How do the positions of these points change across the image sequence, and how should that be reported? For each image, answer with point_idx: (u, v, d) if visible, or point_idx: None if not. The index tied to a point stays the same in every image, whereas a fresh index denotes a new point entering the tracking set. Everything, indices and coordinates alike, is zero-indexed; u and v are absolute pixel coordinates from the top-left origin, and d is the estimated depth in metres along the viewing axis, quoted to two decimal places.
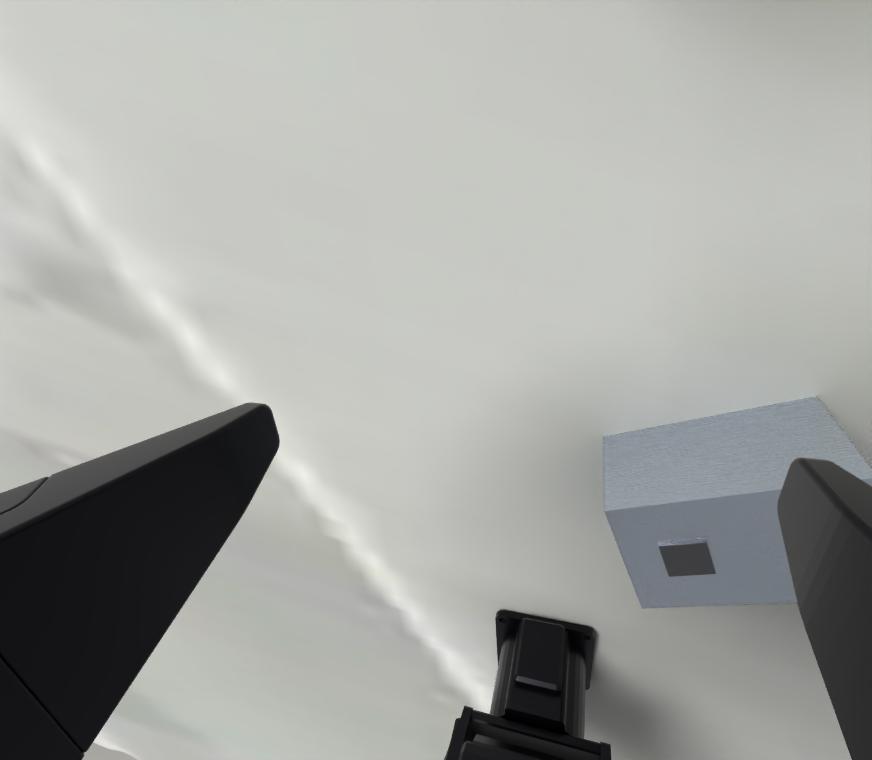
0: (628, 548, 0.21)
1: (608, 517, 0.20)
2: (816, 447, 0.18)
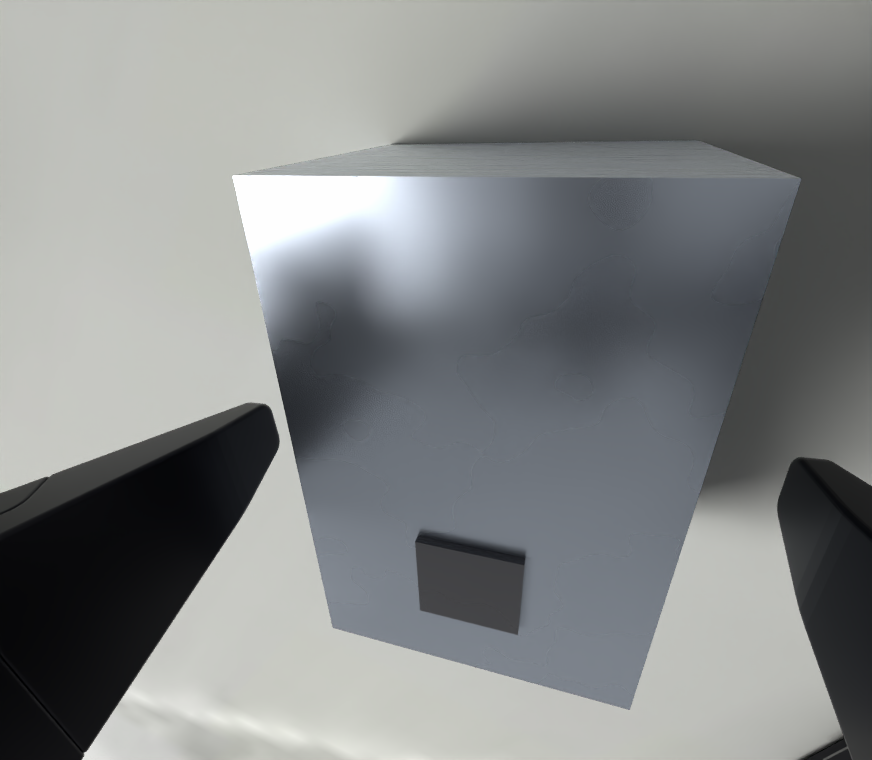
0: (430, 644, 0.10)
1: (347, 630, 0.10)
2: None
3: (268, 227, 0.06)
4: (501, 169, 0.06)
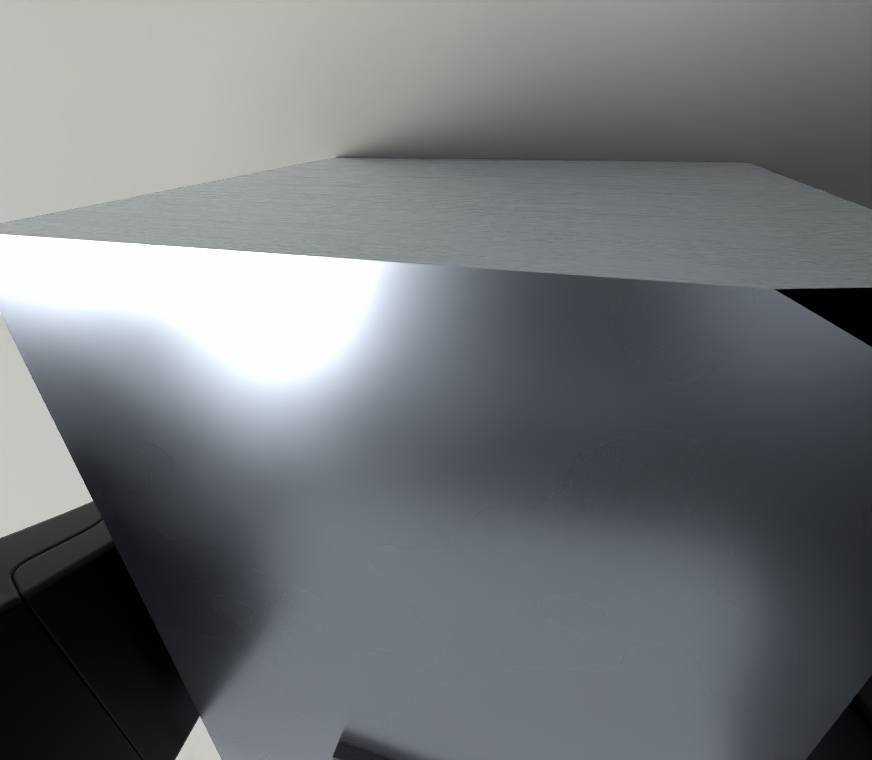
0: None
1: None
2: None
3: (38, 319, 0.03)
4: (443, 232, 0.03)
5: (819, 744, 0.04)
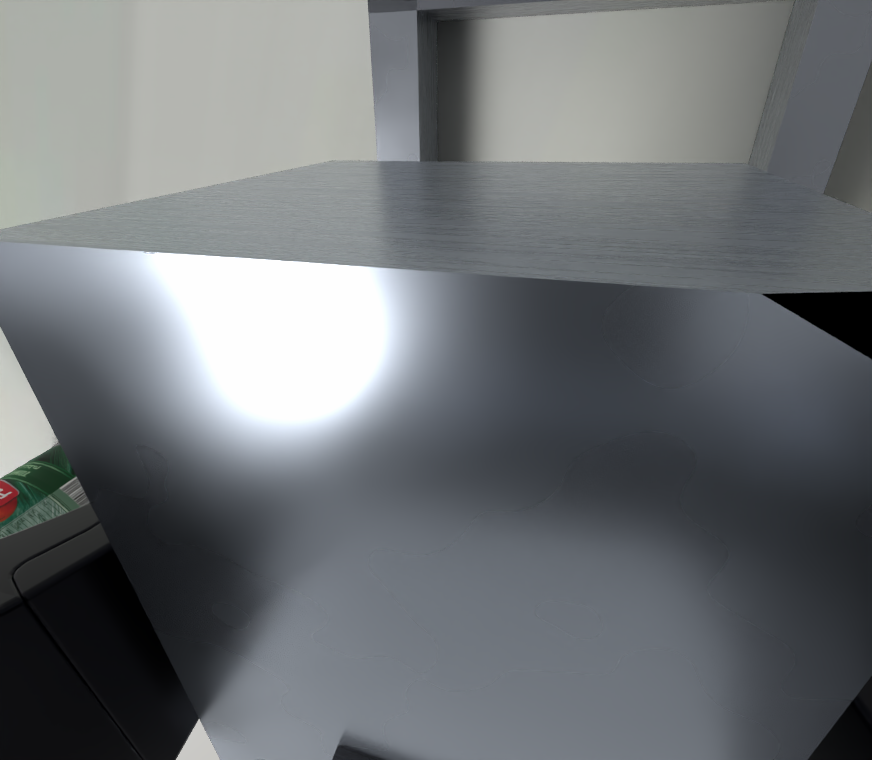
0: None
1: None
2: None
3: (35, 326, 0.03)
4: (437, 237, 0.03)
5: None
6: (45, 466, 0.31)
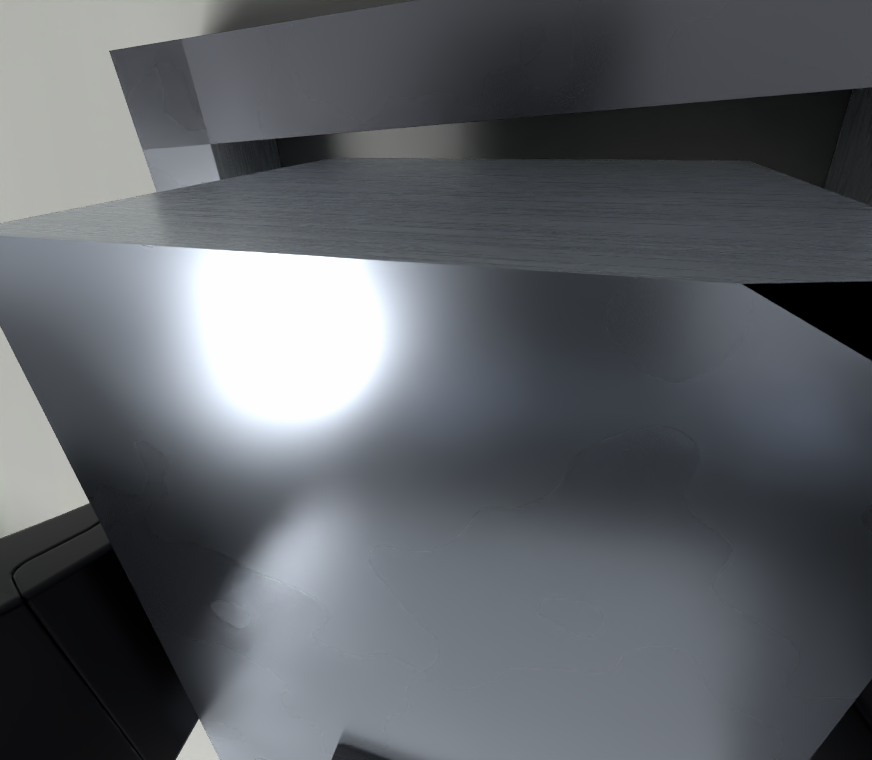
0: None
1: None
2: None
3: (32, 321, 0.03)
4: (438, 231, 0.03)
5: None
6: None
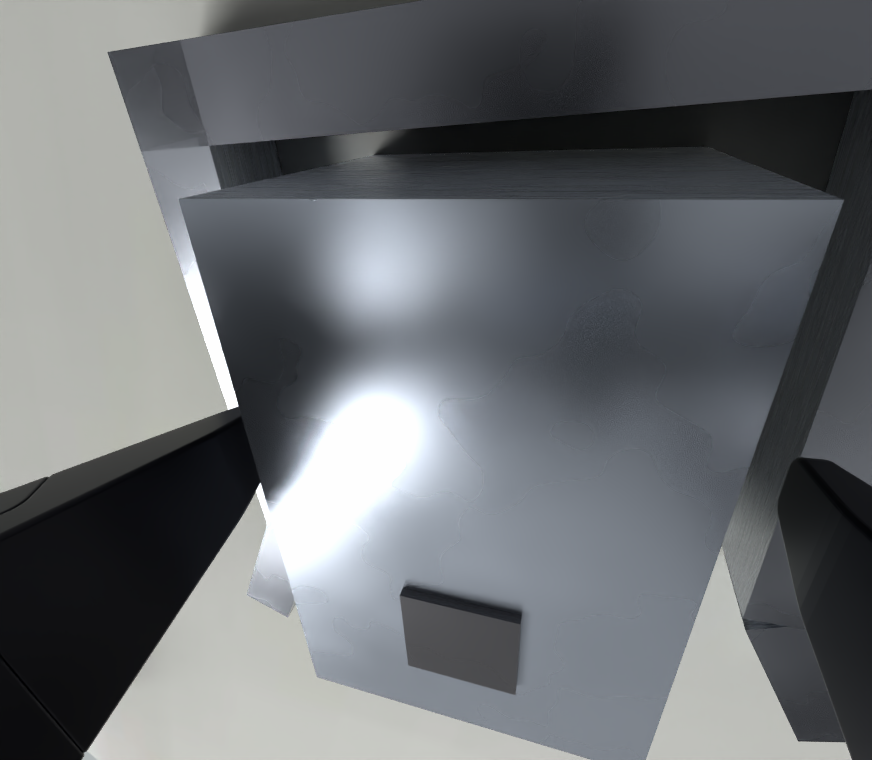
0: (422, 698, 0.09)
1: (332, 680, 0.09)
2: None
3: (221, 256, 0.05)
4: (484, 188, 0.05)
5: None
6: None
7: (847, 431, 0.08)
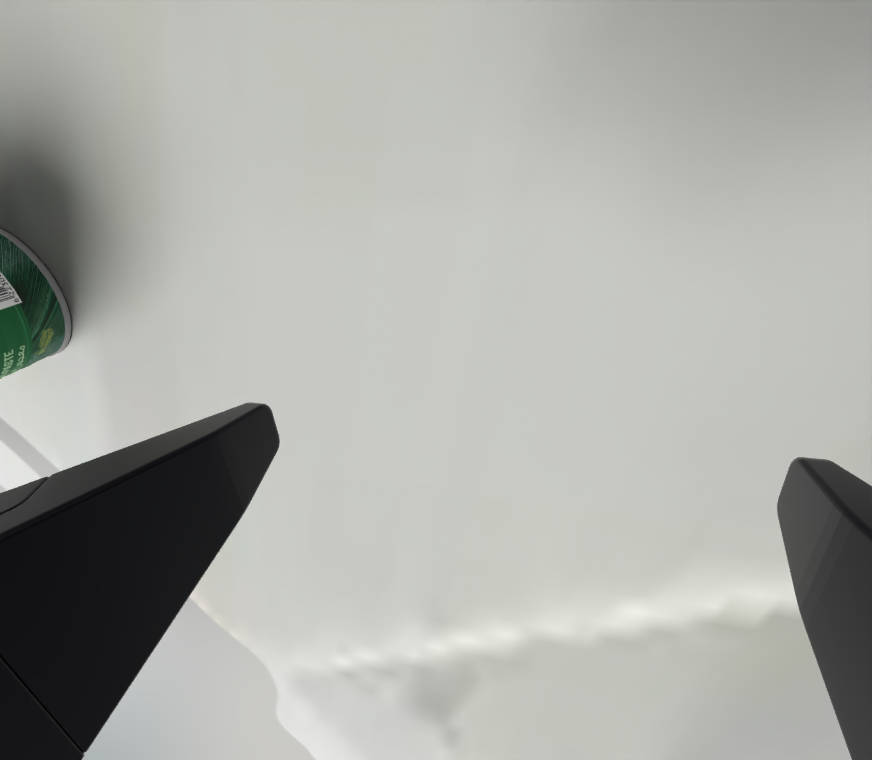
0: None
1: None
2: None
3: None
4: None
5: None
6: None
7: None
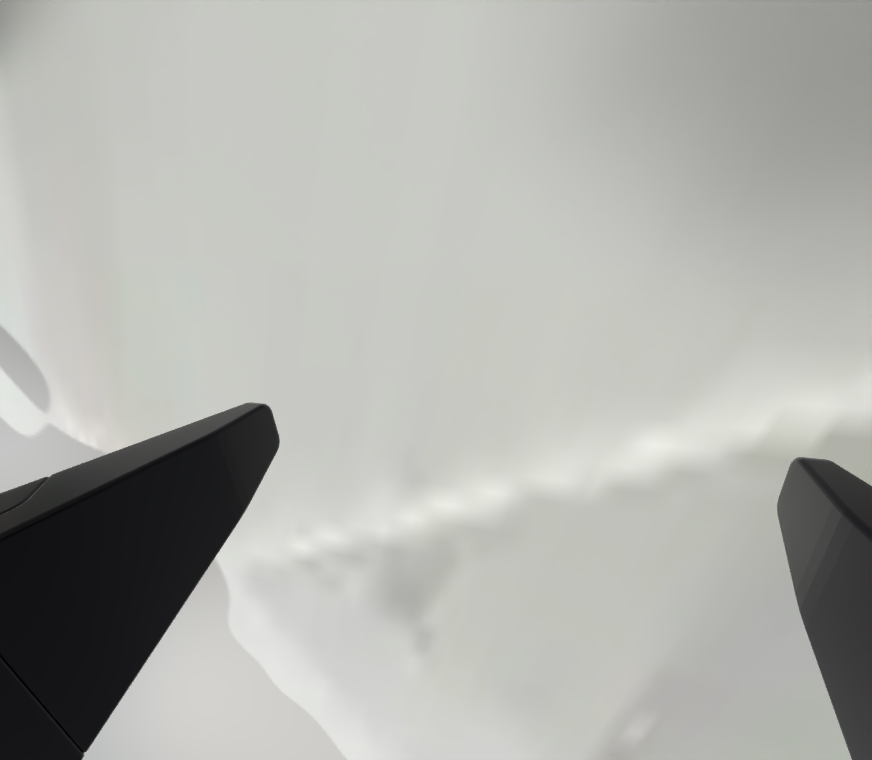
0: None
1: None
2: None
3: None
4: None
5: None
6: None
7: None
